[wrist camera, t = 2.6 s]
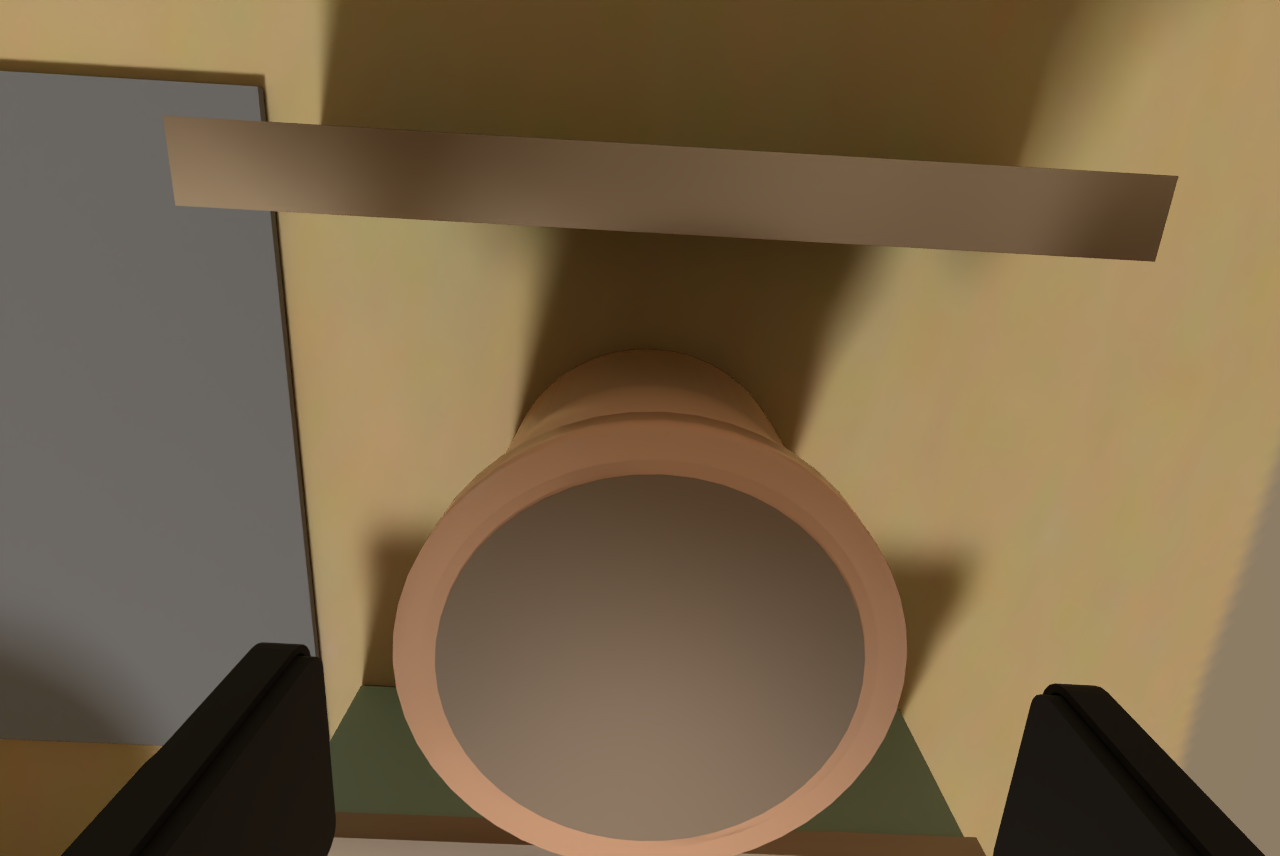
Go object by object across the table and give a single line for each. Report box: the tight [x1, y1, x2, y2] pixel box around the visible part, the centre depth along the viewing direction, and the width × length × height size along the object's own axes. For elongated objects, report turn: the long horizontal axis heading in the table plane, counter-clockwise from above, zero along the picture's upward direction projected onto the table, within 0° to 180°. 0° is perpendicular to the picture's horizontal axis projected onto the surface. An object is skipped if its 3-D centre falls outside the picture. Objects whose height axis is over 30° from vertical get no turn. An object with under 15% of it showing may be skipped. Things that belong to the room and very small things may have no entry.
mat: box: [0, 71, 320, 746], centre depth 16 cm, size 16×12×1 cm
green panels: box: [163, 116, 1178, 856], centre depth 14 cm, size 14×14×5 cm
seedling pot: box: [393, 349, 907, 856], centre depth 13 cm, size 7×7×7 cm
